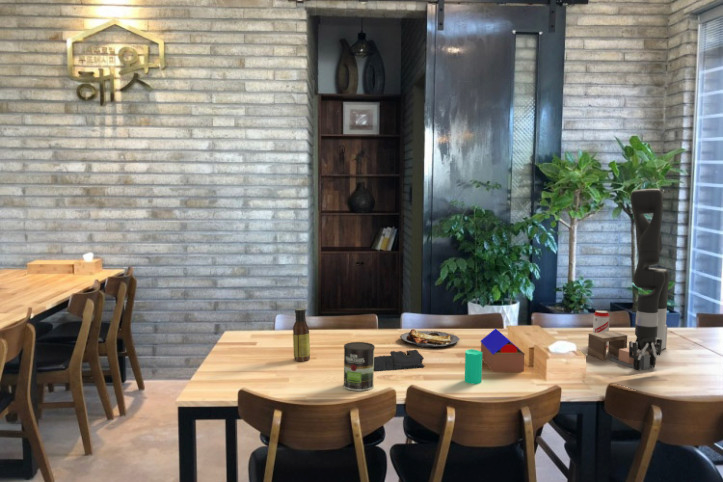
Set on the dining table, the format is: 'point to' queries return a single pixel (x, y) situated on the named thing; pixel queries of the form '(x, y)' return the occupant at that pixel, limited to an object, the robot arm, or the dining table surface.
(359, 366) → the coffee can
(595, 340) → the tunnel
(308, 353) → the sauce bottle
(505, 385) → the dining table surface
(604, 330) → the beer can
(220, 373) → the dining table surface
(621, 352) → the block
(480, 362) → the candle
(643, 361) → the sled
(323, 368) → the dining table surface
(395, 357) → the dark slate chunk
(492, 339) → the house
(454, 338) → the food plate
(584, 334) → the dining table surface
